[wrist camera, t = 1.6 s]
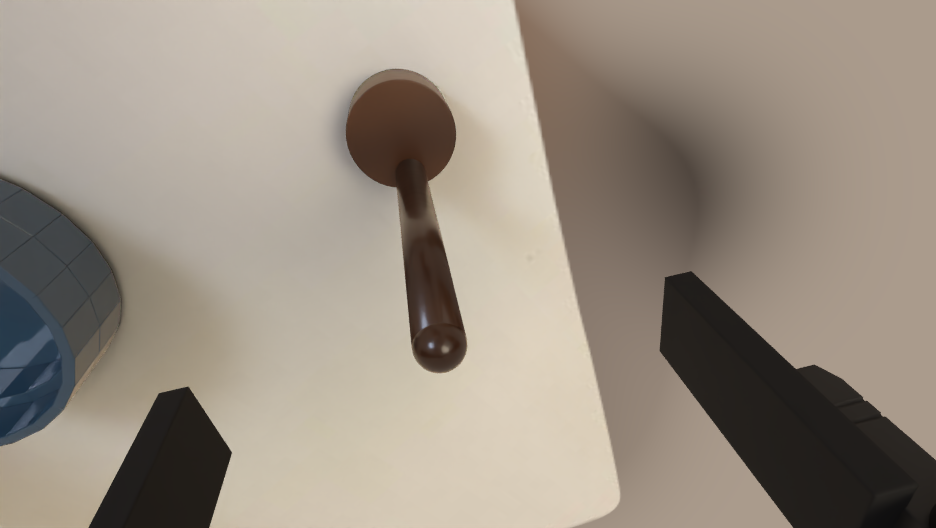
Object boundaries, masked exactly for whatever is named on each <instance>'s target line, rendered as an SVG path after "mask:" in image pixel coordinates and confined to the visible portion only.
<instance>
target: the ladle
mask: <svg viewBox="0 0 936 528" xmlns="http://www.w3.org/2000/svg"><path fill="white" fill-rule="evenodd" d="M346 141H347V145H348V149H349V151H350V154H351V156H352V158H353V160H354V162H355V163H356V164H357V166H358V167H359V168H360V169H361V170H362V171H363V172H364V173H365V174H366V175H367V176H368V177H370V178H371V179H373V180H375V181H377V182H379V183H381V184H384V185H386V186H391V187H397V195H398V206H399V217H400V227H401V238H402V248H403V259H404V270H405V280H406V291H407V301H408V312H409V323H410V333H411V344H412V351H413V355H414V357H415V359H416V361H417V362H418V364H419V365H420V366H422V367H423V368H424V369H426V370H427V371H430V372H433V373H446V372H449V371H451V370H453V369H454V368H456V367H457V366H458V365H459V364H460V363H461V362H462V361H463V359H464V357H465V355H466V351H467V338H466V334H465V330H464V326H463V322H462V318H461V314H460V310H459V306H458V302H457V298H456V294H455V289H454V285H453V281H452V277H451V273H450V269H449V265H448V261H447V257H446V253H445V249H444V245H443V241H442V237H441V232H440V228H439V224H438V220H437V216H436V212H435V208H434V204H433V200H432V196H431V192H430V188H429V184H428V181H429V180H431V179H433V178H434V177H435V176H437V175H438V174H439V173H440V172H441V171H442V170H443V169H444V168H445V166H446V165H447V163H448V162H449V160H450V158H451V156H452V154H453V151H454V147H455V142H456V128H455V123H454V119H453V116H452V113H451V111H450V109H449V107H448V105H447V103H446V102H445V100H444V98H443V96H442V94H441V93H440V91H439V90H438V88H437V87H436V86H435V85H434V84H433V83H432V82H431V81H429V80H428V79H427V78H425V77H424V76H422V75H420V74H418V73H416V72H413V71H409V70H404V69H390V70H385V71H382V72H379V73H377V74H374V75H373V76H371V77H370V78H368V79H367V80H366V81H365V82H363V83H362V85H361V86H360V87H359V88H358V90H357V91H356V92H355V94H354V96H353V98H352V101H351V104H350V108H349V114H348V119H347V124H346Z"/></svg>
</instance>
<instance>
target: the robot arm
mask: <svg viewBox="0 0 936 528" xmlns="http://www.w3.org/2000/svg"><path fill="white" fill-rule="evenodd" d="M660 352H661V353H662V355H663V356H664V357H665V359H666V360H667V361H668V363H669V364H670V365H671V367H672V368H673V369H674V370H675V372H676V373H677V374H678V375H679V377H680V378H681V380H682V381H683V382H684V384H685V385H686V386H687V388H688V389H689V390H690V392H691V393H692V394H693V396H694V397H695V398H696V400H697V401H698V402H699V403H700V405H701V406H702V408H703V409H704V410H705V411H706V413H707V414H708V415H709V417H710V418H711V419H712V421H713V422H714V423H715V425H716V426H717V427H718V428H719V430H720V431H721V433H722V434H723V435H724V437H725V438H726V439H727V440H728V442H729V443H730V444H731V446H732V447H733V448H734V450H735V451H736V452H737V454H738V455H739V456H740V458H741V459H742V460H743V462H744V463H745V464H746V466H747V467H748V468H749V470H750V471H751V472H752V473H753V475H754V476H755V478H756V479H757V480H758V482H759V483H760V484H761V486H762V487H763V488H764V490H765V491H766V492H767V493H768V495H769V496H770V497H771V499H772V500H773V501H774V503H775V504H776V505H777V507H778V508H779V509H780V511H781V512H782V513H783V515H784V516H785V517H786V519H787V520H788V521H789V522H790V524H791V525H792V526H793V528H936V460H935V459H934V458H933V457H931V456H930V455H929V454H928V453H927V452H926V451H925V450H923V449H922V448H921V447H920V446H919V445H918V444H916V443H915V442H914V441H913V440H912V439H911V438H910V437H908V436H907V435H906V434H905V433H904V432H903V431H901V430H900V429H899V428H898V427H897V426H896V425H894V424H893V423H892V422H891V421H890V420H889V419H888V418H886V417H883V416H881V414H880V413H881V412H879V411H878V410H877V409H876V408H875V407H874V406H872V405H871V404H870V403H869V402H868V401H864V400H863V397H862V396H861V395H860V394H859V393H858V392H856V391H855V390H854V389H853V388H852V387H851V386H849V385H848V384H847V383H846V382H845V381H844V380H842V379H841V378H839V377H837V376H835V375H833V374H831V373H830V372H828V371H826V370H824V369H822V368H820V367H818V366H816V365H811V366H807V367H803V368H799V369H795V368H794V367H793V366H792V365H791V364H790V363H789V362H788V361H787V360H785V359H784V358H783V357H782V356H781V355H780V354H779V353H778V352H777V351H776V350H775V349H774V348H773V347H771V345H769V344H768V343H767V342H766V341H765V340H764V339H763V338H762V337H761V336H760V335H759V334H758V333H757V332H756V331H754V330H753V329H752V328H751V327H750V326H749V325H748V324H747V323H746V322H745V321H744V320H743V319H742V318H740V316H739V315H737V314H736V313H735V312H734V311H733V310H732V309H731V308H730V307H729V306H728V305H727V304H726V303H725V302H723V300H721V299H720V298H719V297H718V296H717V295H716V294H715V293H714V292H713V291H712V290H711V289H710V288H709V287H708V286H706V285H705V284H704V283H703V282H702V281H701V280H700V279H699V278H698V277H697V276H696V275H695V274H694V273H692V272H691V271H690V272H687V273H682V274H677V275H673V276H669V277H665V286H664V300H663V313H662V326H661V342H660ZM231 454H232V452H231V450H230V449H229V447H228V446H227V444H226V443H225V441H224V440H223V438H222V437H221V435H220V434H219V432H218V431H217V429H216V428H215V426H214V425H213V423H212V422H211V420H210V419H209V417H208V416H207V414H206V413H205V411H204V409H203V408H202V406H201V405H200V403H199V402H198V400H197V399H196V397H195V396H194V394H193V393H192V391H191V390H190V388H189V387H184V388H180V389H176V390H171V391H167V392H163V393H159V394H158V396H157V398H156V400H155V402H154V404H153V406H152V407H151V409H150V411H149V413H148V415H147V417H146V419H145V421H144V423H143V425H142V427H141V428H140V430H139V432H138V434H137V436H136V438H135V440H134V442H133V444H132V446H131V448H130V449H129V451H128V453H127V455H126V457H125V459H124V461H123V463H122V465H121V467H120V469H119V470H118V472H117V474H116V476H115V478H114V480H113V482H112V484H111V486H110V488H109V490H108V492H107V493H106V495H105V497H104V499H103V501H102V503H101V505H100V507H99V509H98V511H97V513H96V514H95V516H94V518H93V520H92V522H91V524H90V526H89V528H209V526H210V523H211V520H212V517H213V513H214V510H215V507H216V504H217V500H218V497H219V494H220V490H221V487H222V484H223V481H224V477H225V474H226V471H227V467H228V464H229V461H230V458H231Z"/></svg>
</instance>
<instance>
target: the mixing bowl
mask: <svg viewBox="0 0 936 528" xmlns="http://www.w3.org/2000/svg"><path fill="white" fill-rule="evenodd" d="M120 312H121V297H120V294H119V291H118V288H117V285H116V282H115V278H114V275H113V272H112V270H111V268H110V267H109V265H108V264H107V262H106V261H105V259H104V258H103V256H102V255H101V253H100V252H99V250H98V249H97V247H96V246H95V244H94V243H93V242H92V241H91V240H90V239H89V238H88V237H87V236H86V235H85V234H84V233H83V232H82V231H81V230H80V229H78V228H77V227H76V226H75V225H74V224H73V223H72V222H71V221H70V220H69V219H68V218H67V217H66V216H65V215H62V213H61V212H59V211H58V210H56V209H55V208H53V207H52V206H50V205H48V204H47V203H45V202H44V201H42V200H41V199H39V198H38V197H36V196H34V195H33V194H31V193H30V192H28V191H27V190H25V189H23V188H21V187H19V186H17V185H14V184H12V183H10V182H7V181H5V180H2V179H0V446H3V445H8V444H12V443H15V442H17V441H19V440H21V439H23V438H25V437H27V436H29V435H31V434H34V433H36V432H38V431H40V430H42V429H44V428H45V427H46V426H47V425H48V424H49V423H50V422H51V421H53V420H54V419H55V418H56V417H57V416H58V415H59V414H60V413H61V412H62V411H63V410H64V409H65V408H66V406H67V405H68V404H69V402H70V401H71V399H72V398H73V397H74V395H75V394H76V392H77V391H78V390H79V388H80V387H81V385H82V384H83V382H84V381H85V380H86V378H87V377H88V375H89V374H90V373H91V371H92V370H93V368H94V367H95V366H96V364H97V363H98V361H99V360H100V359H101V357H102V356H103V354H104V353H105V351H106V350H107V349H108V347H109V346H110V344H111V342H112V340H113V338H114V335H115V333H116V331H117V329H118V327H119V324H120Z"/></svg>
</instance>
